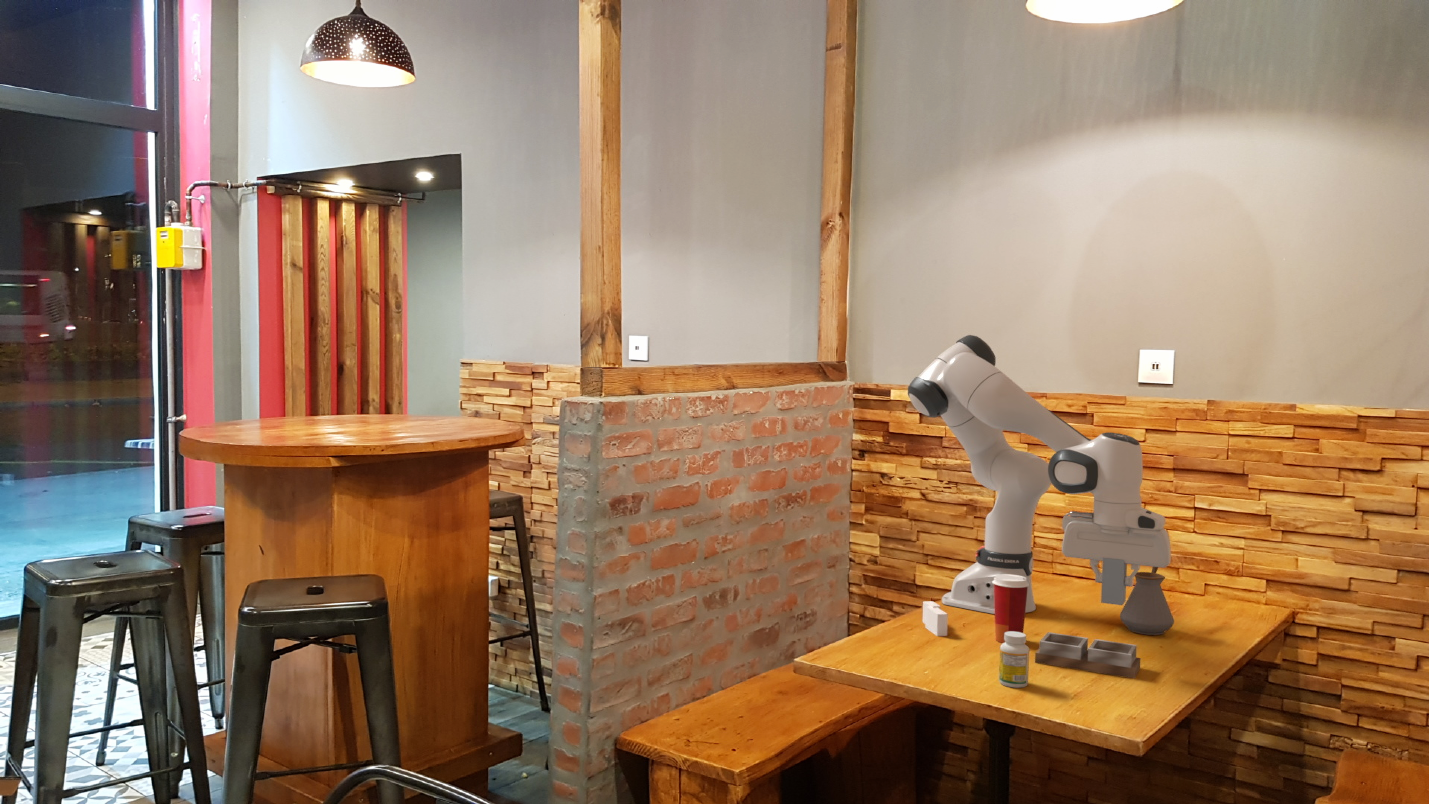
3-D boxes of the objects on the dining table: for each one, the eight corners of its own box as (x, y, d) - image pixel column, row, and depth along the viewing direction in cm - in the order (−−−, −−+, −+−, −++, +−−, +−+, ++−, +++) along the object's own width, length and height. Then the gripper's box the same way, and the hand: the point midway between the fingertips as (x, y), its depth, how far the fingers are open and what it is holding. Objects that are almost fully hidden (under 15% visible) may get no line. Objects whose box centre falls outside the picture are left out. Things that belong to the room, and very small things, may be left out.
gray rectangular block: (1101, 602, 209) (1102, 557, 208) (1104, 598, 212) (1106, 554, 211) (1122, 605, 207) (1124, 560, 206) (1125, 601, 210) (1127, 556, 210)
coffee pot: (1169, 640, 232) (1172, 573, 231) (1115, 632, 238) (1117, 566, 237) (1182, 619, 250) (1185, 557, 249) (1131, 612, 256) (1134, 551, 255)
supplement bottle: (1020, 690, 196) (1022, 639, 196) (994, 684, 200) (995, 634, 199) (1032, 683, 200) (1034, 634, 200) (1006, 677, 204) (1007, 628, 203)
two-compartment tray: (1034, 662, 214) (1035, 640, 213) (1043, 652, 221) (1044, 631, 220) (1134, 678, 204) (1135, 655, 204) (1140, 667, 211) (1141, 645, 211)
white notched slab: (951, 642, 229) (952, 616, 229) (901, 634, 234) (902, 609, 234) (969, 626, 242) (970, 601, 242) (921, 619, 248) (922, 595, 247)
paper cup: (1028, 638, 231) (1030, 575, 231) (1026, 647, 224) (1028, 582, 223) (991, 634, 234) (993, 572, 233) (988, 643, 227) (990, 579, 226)
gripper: (1059, 512, 211) (1057, 580, 211) (1169, 522, 201) (1166, 594, 201) (1066, 508, 216) (1063, 574, 217) (1173, 518, 206) (1170, 587, 207)
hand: (1114, 584), depth 209 cm, fingers closed on gray rectangular block, 4 cm apart
